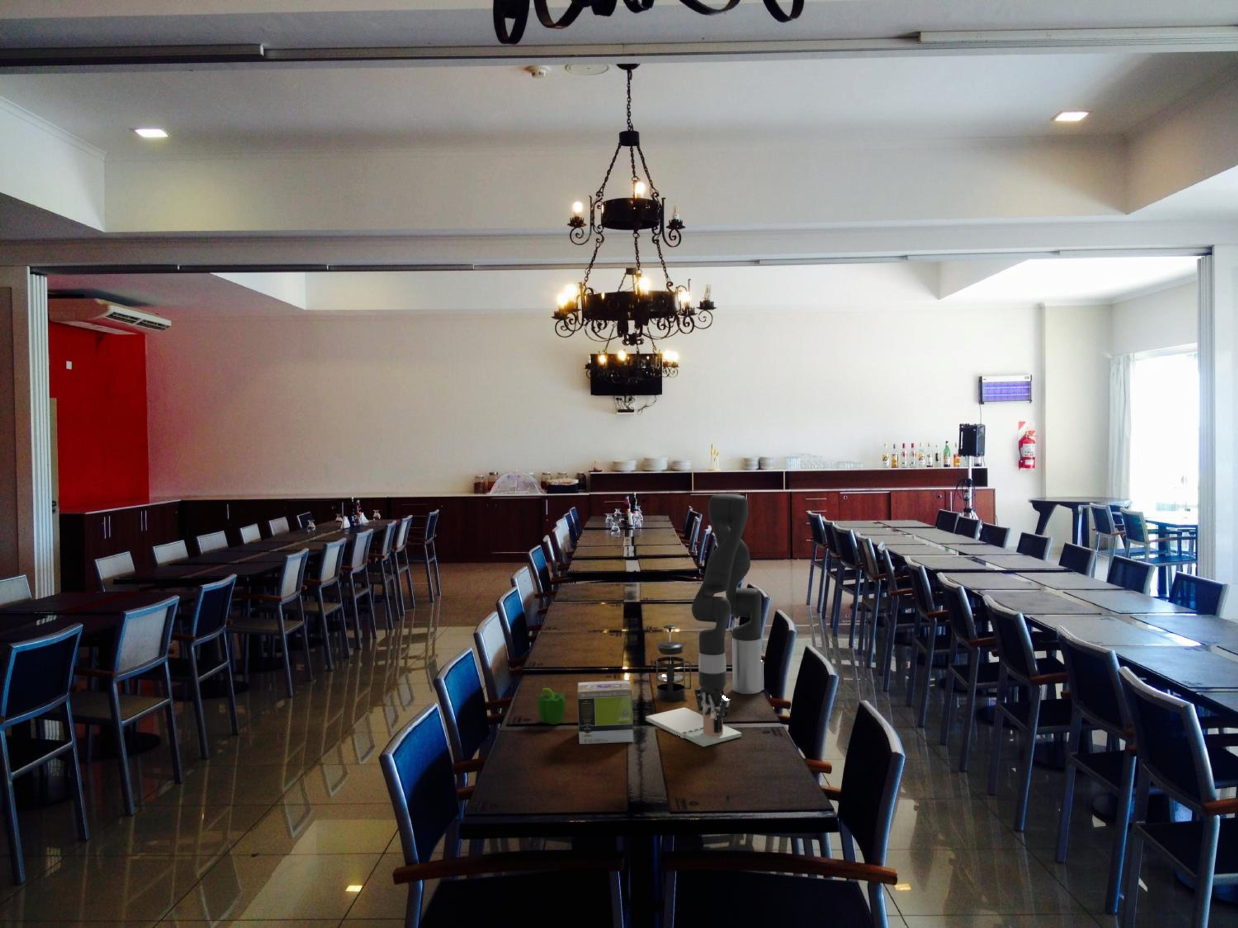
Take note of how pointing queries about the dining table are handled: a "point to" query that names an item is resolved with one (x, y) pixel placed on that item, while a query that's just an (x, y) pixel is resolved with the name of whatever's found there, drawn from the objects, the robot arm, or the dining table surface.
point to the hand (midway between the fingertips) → (713, 729)
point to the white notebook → (678, 721)
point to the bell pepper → (551, 707)
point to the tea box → (605, 712)
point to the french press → (671, 671)
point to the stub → (711, 733)
